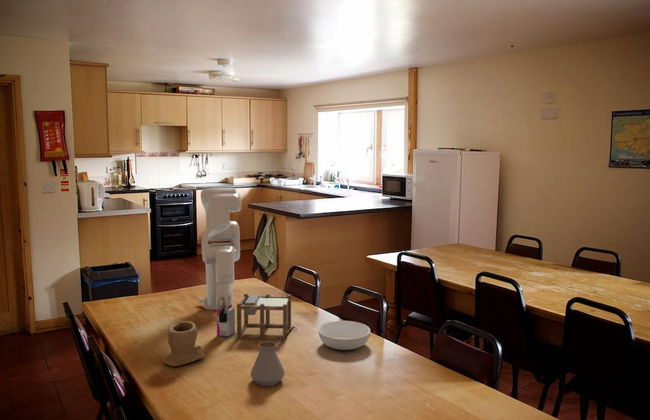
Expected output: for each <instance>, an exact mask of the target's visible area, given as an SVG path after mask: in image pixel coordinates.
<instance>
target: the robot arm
mask: <svg viewBox="0 0 650 420" xmlns="http://www.w3.org/2000/svg"><path fill="white" fill-rule="evenodd" d="M200 200H201V204H202V206H203V208H204V211H205V219H206V221H205V224H206V226H205V228H206V230H205V231H204V233H203V236H202V238H201V255H202V261H203V263H205V281H206V282H205V284H206V285H205V290H206V291H205V293H206V294H205V295H206V296H204V297H198V299H197V301H198V302H199V303H203V304H202V305H203V308H204V309H205V310H211V311H212V310H214V311H216V310H217V309H219V322H220V323H226V322H227V313H226V310H227V307H233V300H234V292H233V290H234V289H233V288H234V287H233V283H235V262H237V261H239V260H240V257H241V244H240V243H241V236H240V235H241V234H240V233H241V231H240V230H241V229H240V225H239V223H238V222H237V221H234V220H230V213H238V212H240V211H241V209H242V197H241V195H240V193H239V191H238V189H237V188H235V187H209V188H208V187H207V188H203V189H202V190H201V191H200ZM209 241H211V242H214V243H209ZM221 241H224V242H221ZM225 241H228V242H225ZM224 308H225V310H224Z"/></svg>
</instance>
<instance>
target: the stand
mask: <svg viewBox="0 0 650 420" xmlns="http://www.w3.org/2000/svg"><path fill="white" fill-rule="evenodd" d="M249 296H250V295H249V294H248V293H244V294H243V298H241V300H240V302H237V303H236V334H237V335H236V339H257V340H258V339H260V340H265V339H266V340H273V339H274V340H281V339H282V337H283V336H284V335H285V334H286V333H287V332H288V329H289V328H290V329H291V328H292V294H287V296H285V295H270V293H266V294H265V295H259V298H260V297H261V298H289V300H288V303H287V304H283V306H264V304H260V306H254V305H245V302H246V300H247V299H248V297H249ZM242 310H243V318H244V319H243V320H244V321H243V323H244V324H243V326H242ZM245 310H257V311H259V323H257V322H249V315H245ZM271 311H282V323H271V314H270V313H271ZM247 327H248V328H249V327H256V328H257V327H258V328H259V330H260V333H259V334H244V332H245V331H246V329H247ZM265 328H282V334H281V335H276V334H275V335H274V334H273V335H272V334H265ZM286 339H287V340H288V337H287V338H286ZM286 339H285V340H286Z"/></svg>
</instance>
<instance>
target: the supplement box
mask: <svg viewBox="0 0 650 420" xmlns="http://www.w3.org/2000/svg"><path fill="white" fill-rule="evenodd" d="M224 310H225V308H224ZM215 311H216V312H215V313H216V336H217V337H223V338H230V337H231V336H233V335H235V334H236V322H235V321H236V317H235V316H236V314H235V307H234V306H232V307H227V310H226V313H227V322H226V323H220V322H219V309H217V310H215Z"/></svg>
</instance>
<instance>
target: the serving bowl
mask: <svg viewBox="0 0 650 420" xmlns="http://www.w3.org/2000/svg"><path fill="white" fill-rule="evenodd" d="M317 330H318V336H319V339H320V341H322V343H323V344H324V345H326V346H327V347H329V348H332V349H335V350H339V351H340V350H341V351H348V350H351V351H352V350H356V349H358V348H361V347H363V346H364V345H365V344H366V343H368V340H369V339H370V336H371V328H370V327H369V326H367V325H366V324H364V323H361V322H357V321H352V320H333V321H329V322H325V323H323V324H321V325H320V326H319V327H318V329H317Z"/></svg>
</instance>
